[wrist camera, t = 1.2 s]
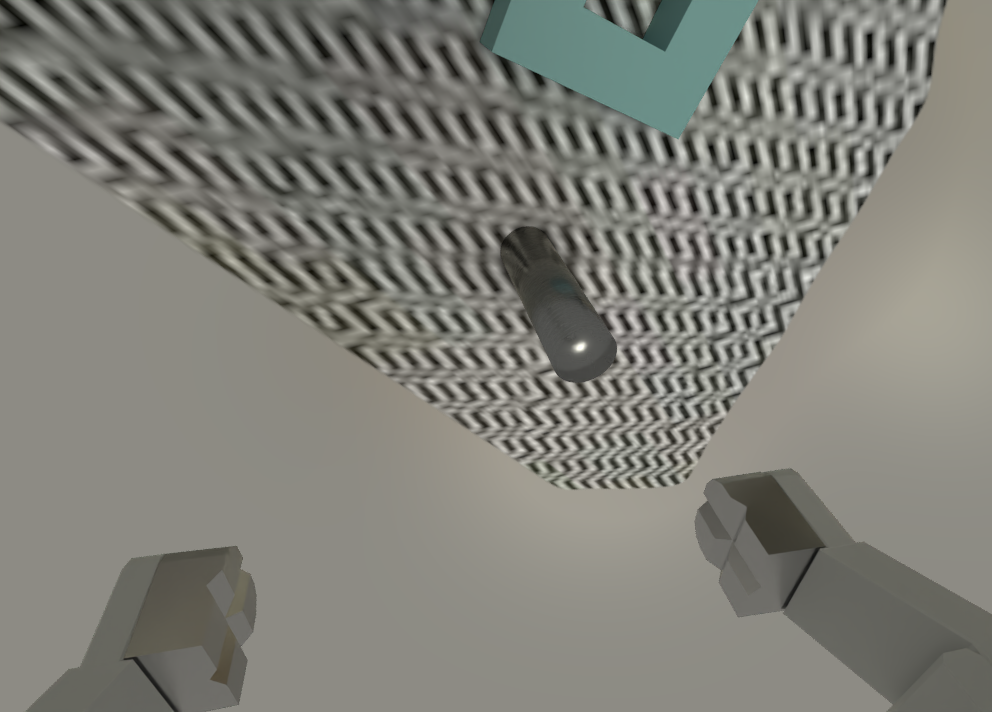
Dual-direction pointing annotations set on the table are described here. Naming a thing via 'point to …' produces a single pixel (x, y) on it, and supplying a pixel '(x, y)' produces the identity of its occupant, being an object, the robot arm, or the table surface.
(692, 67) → the socket block
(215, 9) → the table surface
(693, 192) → the table surface
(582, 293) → the steel pin
